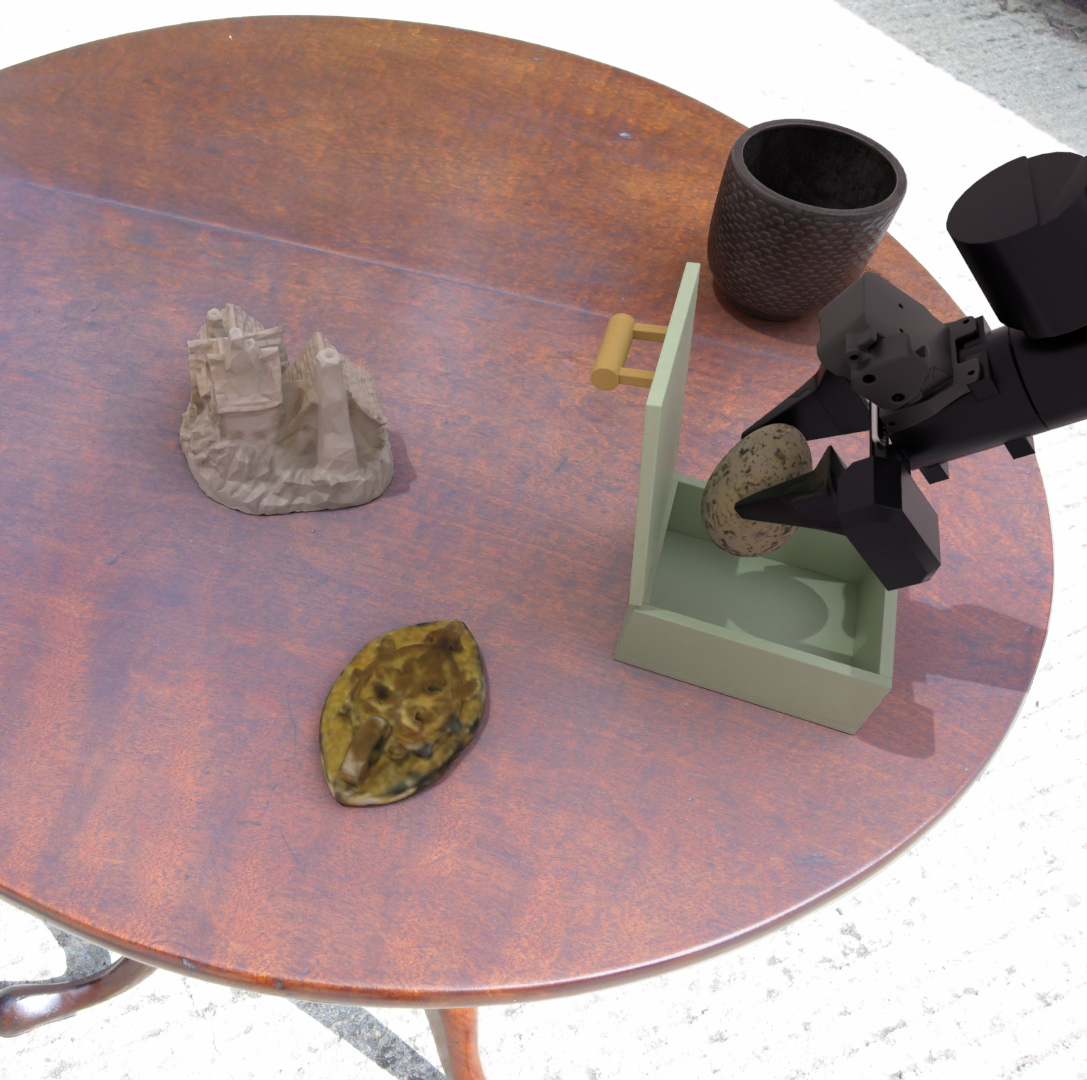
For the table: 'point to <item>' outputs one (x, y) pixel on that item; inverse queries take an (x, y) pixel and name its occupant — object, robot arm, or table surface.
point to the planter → (800, 215)
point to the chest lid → (652, 411)
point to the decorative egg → (753, 489)
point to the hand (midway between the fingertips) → (740, 475)
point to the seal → (401, 712)
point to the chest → (764, 620)
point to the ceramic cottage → (281, 421)
